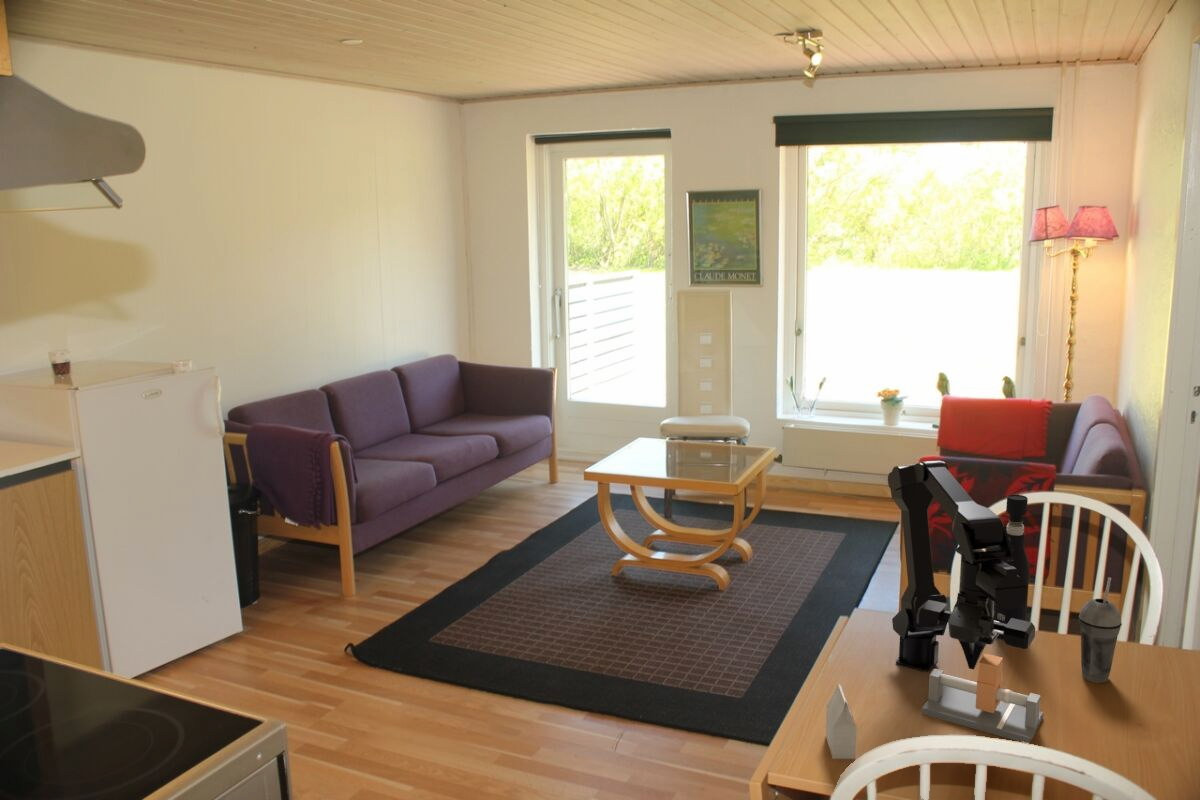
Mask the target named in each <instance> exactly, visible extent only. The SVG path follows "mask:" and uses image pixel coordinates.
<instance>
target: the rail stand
mask: <svg viewBox="0 0 1200 800" xmlns="http://www.w3.org/2000/svg"><path fill="white" fill-rule="evenodd" d="M977 682H978V681H972V680H969V679H966V678H962V677H958V676H957V677H956V676H954V675H949V674H945V673H944V670H942V669H938V668H934V669H932V671H931V672H930V674H929V680H928V699H927V701H926V702H925V703H924V705H923V706H922V707H921V714H922V715H925V716H927V717H928V716H929V717H931V718H936V719H939V720H941V721H946V722H949V723H953V724H956V725H960V726H963V727H967V728H970V729H974V730H977V731H981V732H985V733H987V734H991V735H994V736H995V735H996V736H998V737H1002V738H1005V739H1009V740H1012V741H1016V740H1017V741H1016V742H1019V741H1024V742H1028V743H1030V744H1031V742H1032V740H1033V739H1034V736H1035V734H1036V733H1037V731H1038V728H1039V726H1040V724H1041V722H1042V720H1043V716H1044V712H1043V711H1041V710H1040V707H1041V695H1040V694H1037V693H1033V692H1030V693H1029V694H1022V693H1018V692H1014V691H1012V690H1011V689H1009V688H1007V689H1006V688H1005V689H1003V688H1002V689H1000V688H997V689H996V700H1000V703H999V705H998V706H997V708H996V710H995V711H994V713H991V712H987V711H983V710H980V709H976V692H977Z"/></svg>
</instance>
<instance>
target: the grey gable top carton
mask: <svg viewBox="0 0 1200 800" xmlns="http://www.w3.org/2000/svg"><path fill="white" fill-rule="evenodd" d="M825 715H826V717H825V718H826V722H825V723H826V725H825V738H826V741H827V744H828V747H829V751H830V755H831V758H832V760H856V752H857V751H856V749H857V725H856V722H855V719H854V716H853V713H852V711H851V708H850V706H849V703H848V701H847V699H846V697H845V694H844V691H843V688H842V685H841V684H840V683H837V685H836V688H835V690H834V692H833V694H832V695H831V697H830V699H829V700H828V702H827V704H826V714H825Z"/></svg>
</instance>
